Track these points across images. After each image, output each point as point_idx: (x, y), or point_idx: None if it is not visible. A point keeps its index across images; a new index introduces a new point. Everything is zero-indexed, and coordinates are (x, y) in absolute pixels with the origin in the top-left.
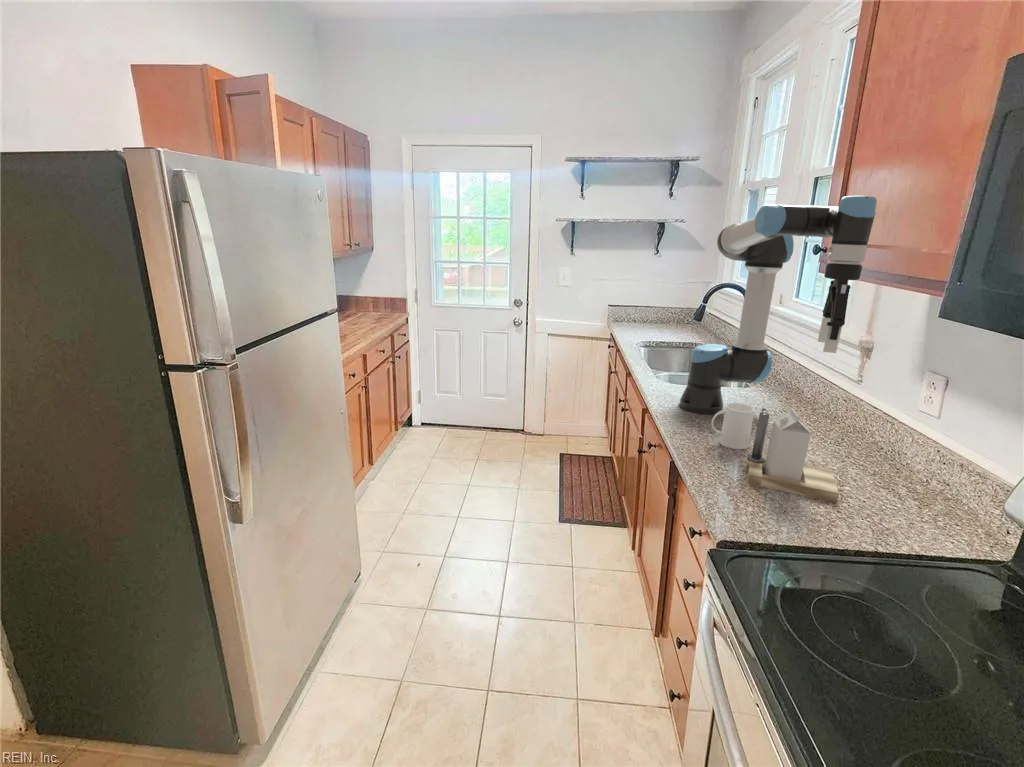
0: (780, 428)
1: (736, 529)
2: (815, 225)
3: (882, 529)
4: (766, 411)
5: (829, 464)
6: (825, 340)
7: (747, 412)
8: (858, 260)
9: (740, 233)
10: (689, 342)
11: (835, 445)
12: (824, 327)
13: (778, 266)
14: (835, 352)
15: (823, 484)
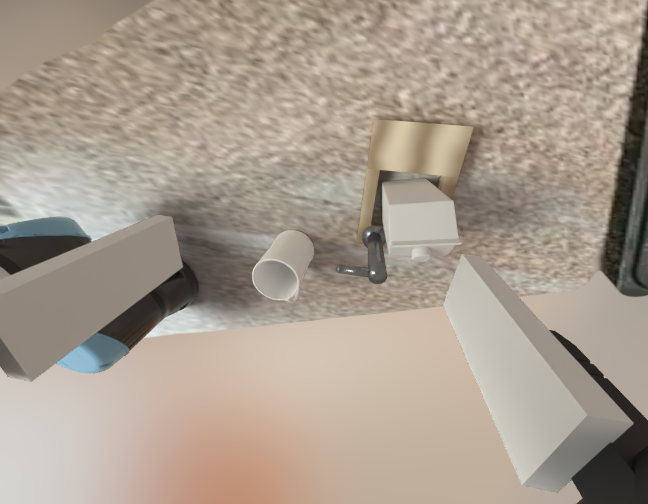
0: (440, 255)
1: (569, 272)
2: None
3: (556, 66)
4: (351, 267)
5: (309, 107)
6: (469, 354)
7: (296, 271)
8: None
9: None
10: None
11: (206, 75)
12: (104, 302)
13: None
14: (480, 260)
15: (442, 147)
